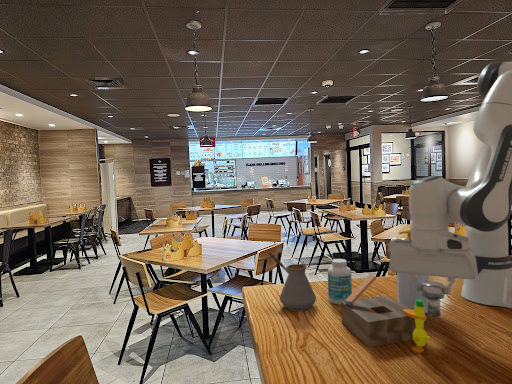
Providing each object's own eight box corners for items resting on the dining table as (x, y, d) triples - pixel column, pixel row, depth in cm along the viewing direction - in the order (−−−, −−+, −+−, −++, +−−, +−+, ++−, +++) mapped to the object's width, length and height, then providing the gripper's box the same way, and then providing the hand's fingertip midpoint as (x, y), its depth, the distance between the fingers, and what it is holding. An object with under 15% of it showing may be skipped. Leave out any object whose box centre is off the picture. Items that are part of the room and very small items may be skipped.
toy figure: (399, 346, 81) (398, 296, 81) (409, 341, 83) (407, 293, 83) (426, 358, 76) (425, 305, 75) (436, 353, 77) (434, 301, 77)
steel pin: (436, 309, 92) (434, 280, 92) (450, 317, 87) (448, 286, 87) (418, 312, 92) (417, 282, 91) (431, 319, 87) (429, 288, 86)
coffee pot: (324, 307, 107) (322, 260, 106) (295, 317, 101) (293, 266, 100) (283, 290, 125) (281, 249, 124) (256, 297, 119) (254, 254, 118)
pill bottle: (328, 305, 109) (326, 263, 108) (329, 297, 116) (327, 257, 115) (352, 306, 107) (351, 263, 106) (351, 297, 114) (350, 257, 114)
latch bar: (372, 276, 95) (369, 273, 95) (377, 278, 93) (374, 275, 92) (346, 304, 94) (343, 301, 93) (350, 307, 91) (347, 304, 91)
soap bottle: (389, 308, 104) (387, 230, 103) (410, 301, 108) (408, 226, 107) (414, 317, 97) (412, 234, 95) (436, 310, 101) (434, 230, 100)
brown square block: (386, 316, 98) (386, 295, 98) (420, 338, 85) (419, 314, 84) (341, 323, 95) (341, 301, 95) (368, 346, 82) (368, 322, 81)
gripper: (385, 240, 92) (388, 290, 93) (474, 243, 80) (478, 301, 81) (391, 235, 97) (394, 283, 98) (476, 238, 85) (479, 293, 86)
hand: (432, 291), depth 89 cm, fingers closed on steel pin, 5 cm apart
